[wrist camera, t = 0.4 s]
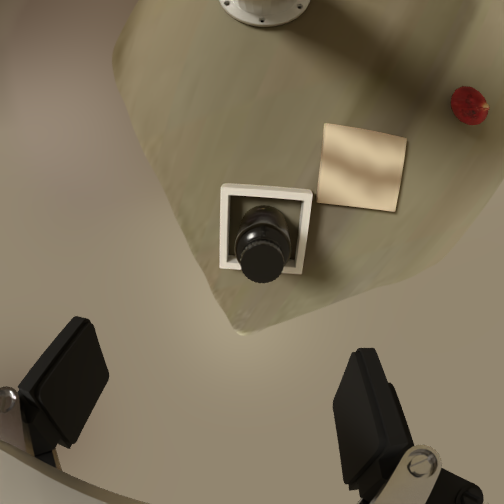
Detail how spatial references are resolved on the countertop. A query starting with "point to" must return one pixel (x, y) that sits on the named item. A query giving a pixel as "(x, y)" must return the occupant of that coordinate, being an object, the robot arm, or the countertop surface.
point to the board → (360, 168)
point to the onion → (469, 105)
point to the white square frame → (270, 192)
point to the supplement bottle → (263, 244)
